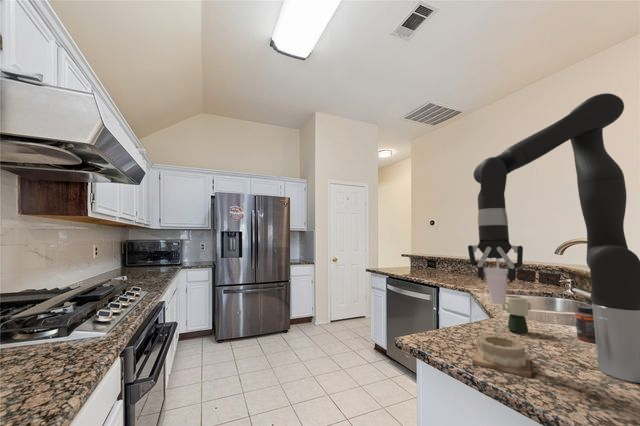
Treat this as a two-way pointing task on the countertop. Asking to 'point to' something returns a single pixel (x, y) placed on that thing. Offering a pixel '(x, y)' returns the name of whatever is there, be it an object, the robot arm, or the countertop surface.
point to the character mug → (517, 312)
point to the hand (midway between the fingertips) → (496, 280)
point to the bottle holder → (502, 355)
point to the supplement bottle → (585, 324)
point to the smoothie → (497, 283)
